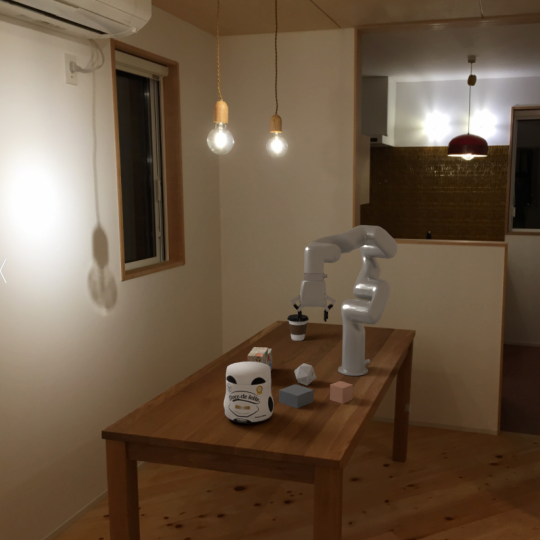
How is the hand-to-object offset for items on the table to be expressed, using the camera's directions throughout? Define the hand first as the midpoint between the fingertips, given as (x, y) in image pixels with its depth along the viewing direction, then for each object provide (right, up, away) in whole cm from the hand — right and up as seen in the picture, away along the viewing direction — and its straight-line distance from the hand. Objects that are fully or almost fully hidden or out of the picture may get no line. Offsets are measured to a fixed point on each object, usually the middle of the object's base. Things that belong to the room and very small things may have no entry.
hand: (312, 320), depth 244 cm
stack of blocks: (-21, -25, +20) cm, 38 cm away
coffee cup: (-2, -16, +79) cm, 80 cm away
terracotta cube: (+10, -29, -7) cm, 32 cm away
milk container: (-24, -32, -25) cm, 47 cm away
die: (-2, -26, +11) cm, 29 cm away
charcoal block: (-7, -30, -10) cm, 32 cm away
